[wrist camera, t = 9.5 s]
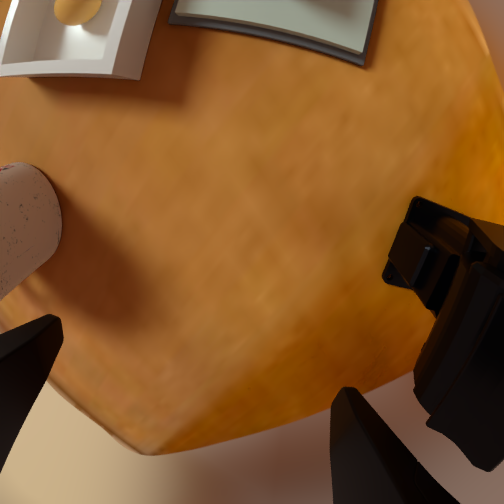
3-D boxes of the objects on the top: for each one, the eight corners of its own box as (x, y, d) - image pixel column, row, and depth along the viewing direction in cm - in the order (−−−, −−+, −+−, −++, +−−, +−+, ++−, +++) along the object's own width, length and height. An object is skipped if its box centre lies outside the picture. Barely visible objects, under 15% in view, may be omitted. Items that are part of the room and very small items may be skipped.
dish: (180, -50, 13) (164, -77, 9) (139, 80, 17) (111, 74, 13) (62, -37, 12) (33, -52, 9) (27, 77, 16) (-8, 77, 13)
